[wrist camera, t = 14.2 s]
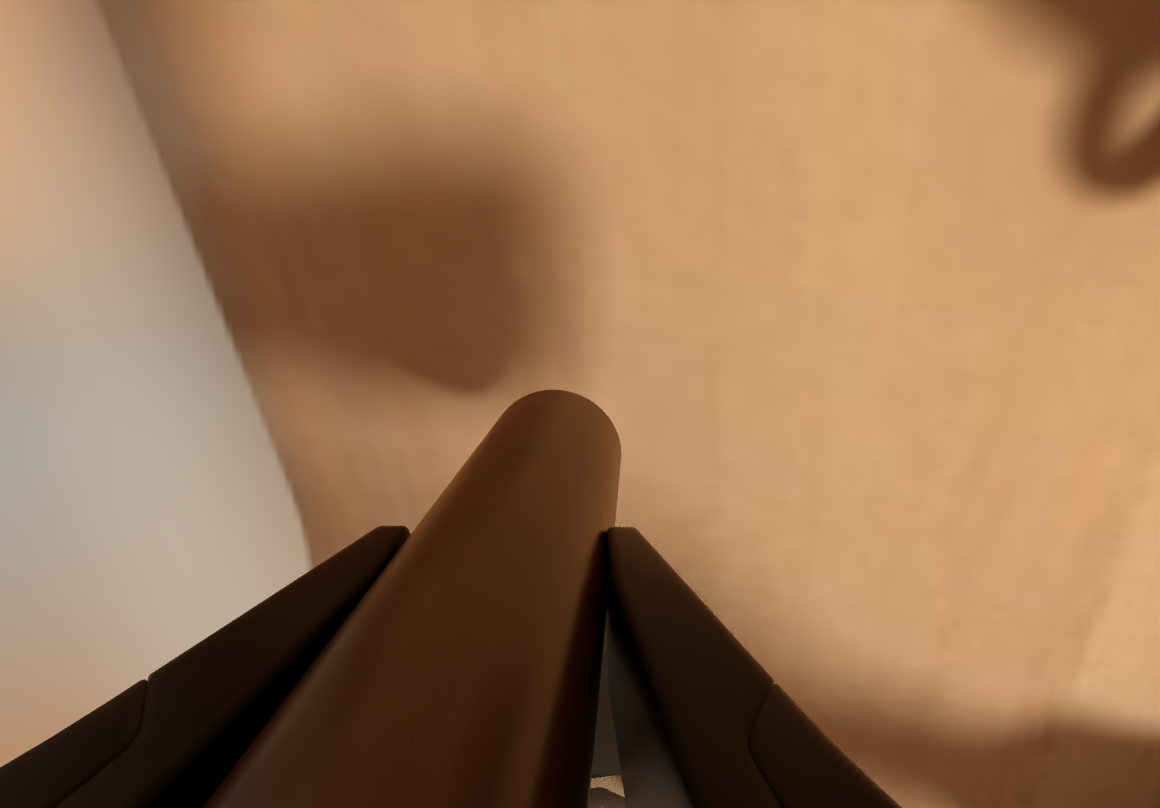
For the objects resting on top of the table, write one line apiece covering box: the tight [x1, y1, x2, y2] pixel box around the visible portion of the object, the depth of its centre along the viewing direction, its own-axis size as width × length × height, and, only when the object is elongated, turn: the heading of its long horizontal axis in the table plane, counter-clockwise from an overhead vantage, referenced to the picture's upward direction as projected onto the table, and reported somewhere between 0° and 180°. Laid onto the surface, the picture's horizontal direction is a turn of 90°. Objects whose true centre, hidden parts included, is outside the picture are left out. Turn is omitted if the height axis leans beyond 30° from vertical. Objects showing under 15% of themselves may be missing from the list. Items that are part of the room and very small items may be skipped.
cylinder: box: [202, 390, 621, 808], centre depth 7 cm, size 3×3×11 cm
